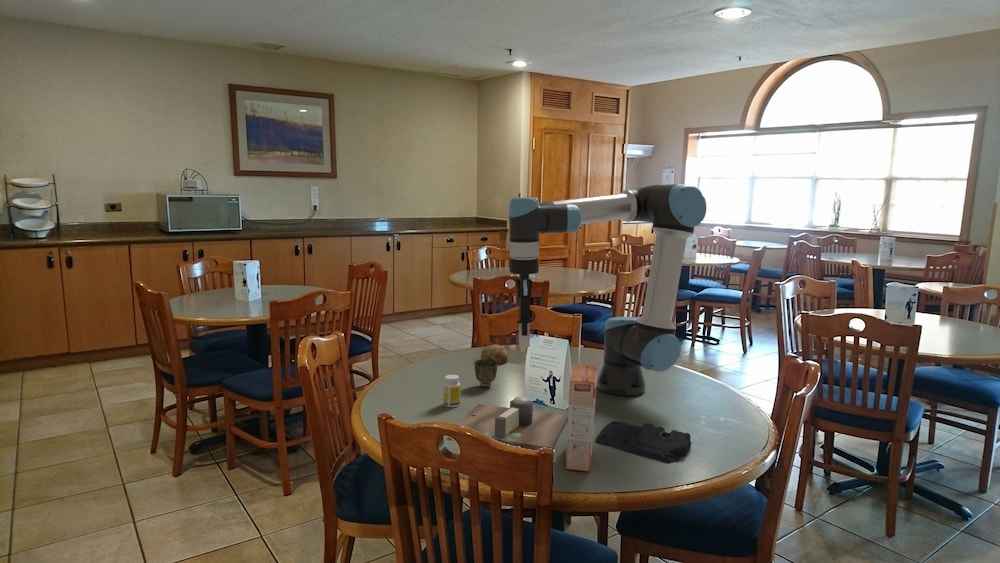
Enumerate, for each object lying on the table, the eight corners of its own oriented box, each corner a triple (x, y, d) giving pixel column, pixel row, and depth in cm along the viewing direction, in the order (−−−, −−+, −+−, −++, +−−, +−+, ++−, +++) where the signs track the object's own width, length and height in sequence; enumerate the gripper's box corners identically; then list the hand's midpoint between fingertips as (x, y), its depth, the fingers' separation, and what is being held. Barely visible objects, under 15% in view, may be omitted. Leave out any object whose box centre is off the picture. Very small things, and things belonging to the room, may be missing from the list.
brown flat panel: (568, 419, 164) (568, 414, 164) (550, 454, 142) (550, 449, 142) (478, 408, 172) (478, 403, 172) (447, 439, 150) (447, 434, 149)
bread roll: (479, 371, 219) (477, 355, 214) (484, 353, 227) (483, 337, 223) (506, 373, 217) (505, 356, 213) (510, 355, 226) (509, 338, 221)
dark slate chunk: (614, 425, 162) (615, 408, 162) (696, 445, 150) (698, 427, 150) (589, 444, 150) (590, 426, 149) (677, 468, 138) (679, 448, 137)
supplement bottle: (462, 403, 175) (463, 375, 174) (456, 408, 171) (456, 380, 170) (447, 401, 177) (447, 373, 176) (440, 406, 173) (441, 378, 171)
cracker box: (592, 473, 133) (596, 382, 130) (564, 470, 134) (568, 380, 131) (593, 447, 147) (597, 364, 144) (568, 445, 148) (571, 362, 145)
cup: (496, 390, 187) (497, 365, 186) (473, 390, 187) (473, 365, 186) (497, 383, 195) (498, 359, 193) (474, 382, 195) (475, 358, 193)
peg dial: (515, 415, 163) (516, 393, 162) (536, 419, 160) (536, 397, 159) (487, 434, 149) (488, 411, 148) (509, 439, 147) (509, 416, 146)
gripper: (508, 255, 162) (509, 340, 166) (510, 261, 149) (511, 353, 153) (536, 254, 162) (536, 339, 166) (540, 260, 149) (540, 353, 153)
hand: (524, 346), depth 159 cm, fingers closed
